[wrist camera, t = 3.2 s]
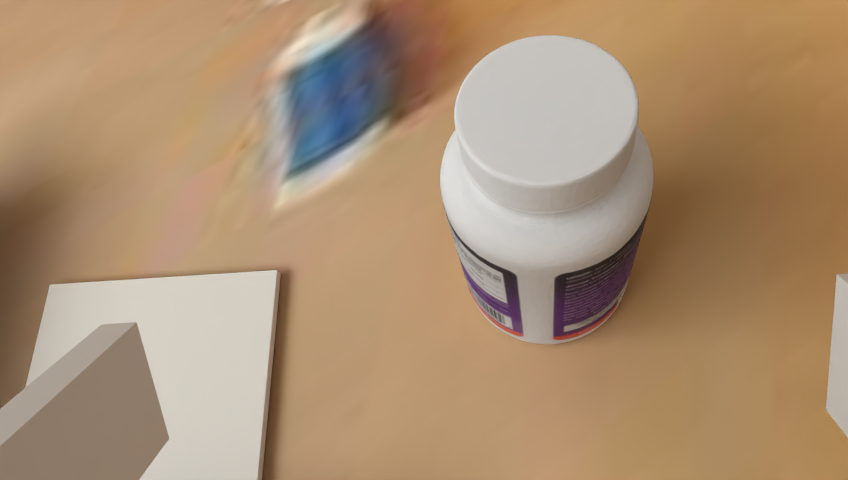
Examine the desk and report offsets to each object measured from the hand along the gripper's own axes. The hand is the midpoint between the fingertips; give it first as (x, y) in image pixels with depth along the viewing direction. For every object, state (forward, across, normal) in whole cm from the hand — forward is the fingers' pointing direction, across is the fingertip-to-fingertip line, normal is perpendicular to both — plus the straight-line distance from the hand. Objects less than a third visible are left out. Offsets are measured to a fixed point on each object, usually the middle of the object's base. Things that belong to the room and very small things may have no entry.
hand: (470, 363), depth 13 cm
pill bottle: (+11, +2, -3) cm, 11 cm away
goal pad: (+8, -12, -5) cm, 15 cm away
